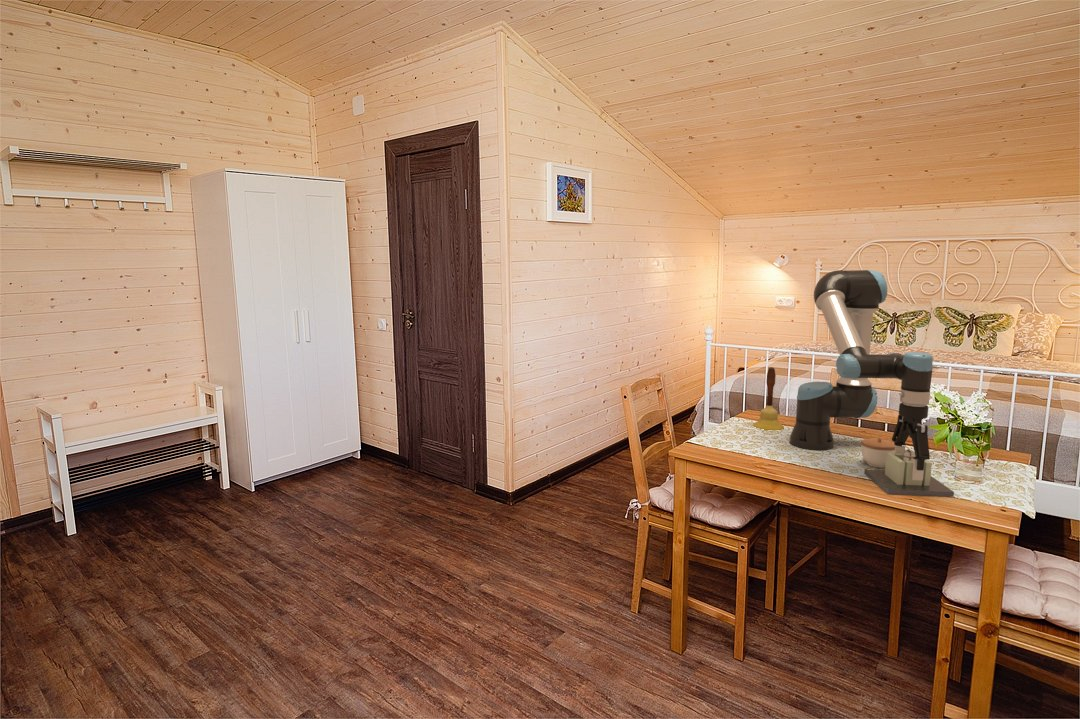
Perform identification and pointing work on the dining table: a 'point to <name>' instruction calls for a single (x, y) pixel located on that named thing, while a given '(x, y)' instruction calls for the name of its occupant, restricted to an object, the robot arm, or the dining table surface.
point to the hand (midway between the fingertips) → (907, 472)
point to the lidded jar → (876, 451)
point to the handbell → (769, 407)
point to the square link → (897, 472)
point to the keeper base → (895, 489)
